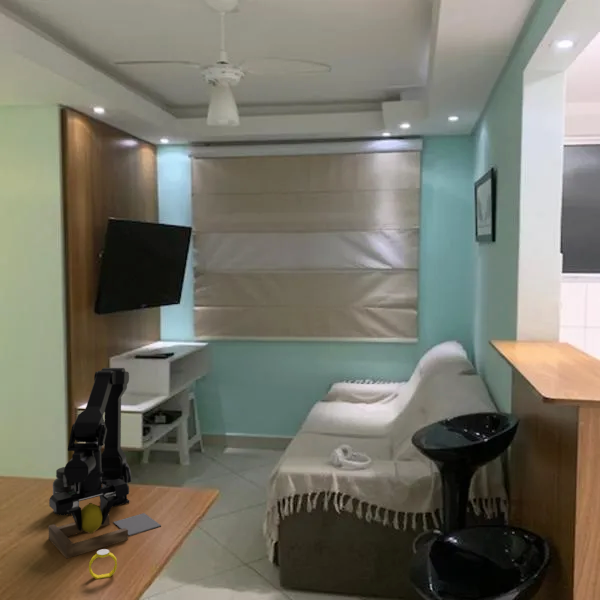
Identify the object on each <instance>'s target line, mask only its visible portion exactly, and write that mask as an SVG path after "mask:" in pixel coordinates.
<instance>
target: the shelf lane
mask: <svg viewBox="0 0 600 600" xmlns="http://www.w3.org/2000/svg"><path fill="white" fill-rule="evenodd" d="M108 525H111V522H110V514H109V513H108V516H107V518H106V520H105V522H104V524H103V525H102V524H101V525H100V527H99V528H101V527H104V526H108ZM47 527H48V529H47V531H48V540H49V541H50V542H51V544H52V545H53V546H54V547H56V548H57V550H58V551H59V552H60V554H62V555H63V556H64V557H65V558H66V559H69V558H70V559H71V558H73V557H76V556H79V555H82V554H85V553H88V552H92V551H95V550H100V549H102V548H105V547H107V546H111V545H114V544H118V543H121V542H124V541H127V540H129V536H128V530H127V529H126V528H123V529H120V528H119V529H117V530H114V531H110V532H107V533H104V534H100V535H96V536H93V537H90V538H87V539H83V540H80V541H76V542H73V541H72V540H71V539H69V538H68V537H70V536H73V534H74V535H77V534H80V533H79V532H81V533H84V532H85V531H84V530H83V529H82V528H81V531H79V530H78V528H77V526H76V523H75V521H73V522H71V523H67V524H63V525H60V526H57V525H56V524H54V523H53V524H49V525H48V526H47ZM83 531H84V532H83ZM76 533H77V534H76Z"/></svg>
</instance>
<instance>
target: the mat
mask: <svg viewBox="0 0 600 600" xmlns="http://www.w3.org/2000/svg"><path fill="white" fill-rule="evenodd" d="M113 524H114V525H115V526H116V525H117V526H116V527H118V528H119V530H120V529H123V528H126V529H127V530H128V537H131V536H134V535H137V534H140V533H144V532H147V531H150V529H151V530H153V529H156V528H159V527H161V526H162V524H160V523H159V522H157V521H156V520H154V519H153V518H152V517H150V516H149V515H147V514H146V513H145V512H143V513H140V514H136V515H133V516H130V517H127V518H123V519H122V518H121V519H119V520H118V519H117V520H114V521H113Z"/></svg>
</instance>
